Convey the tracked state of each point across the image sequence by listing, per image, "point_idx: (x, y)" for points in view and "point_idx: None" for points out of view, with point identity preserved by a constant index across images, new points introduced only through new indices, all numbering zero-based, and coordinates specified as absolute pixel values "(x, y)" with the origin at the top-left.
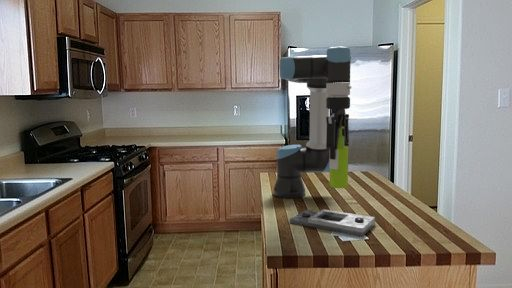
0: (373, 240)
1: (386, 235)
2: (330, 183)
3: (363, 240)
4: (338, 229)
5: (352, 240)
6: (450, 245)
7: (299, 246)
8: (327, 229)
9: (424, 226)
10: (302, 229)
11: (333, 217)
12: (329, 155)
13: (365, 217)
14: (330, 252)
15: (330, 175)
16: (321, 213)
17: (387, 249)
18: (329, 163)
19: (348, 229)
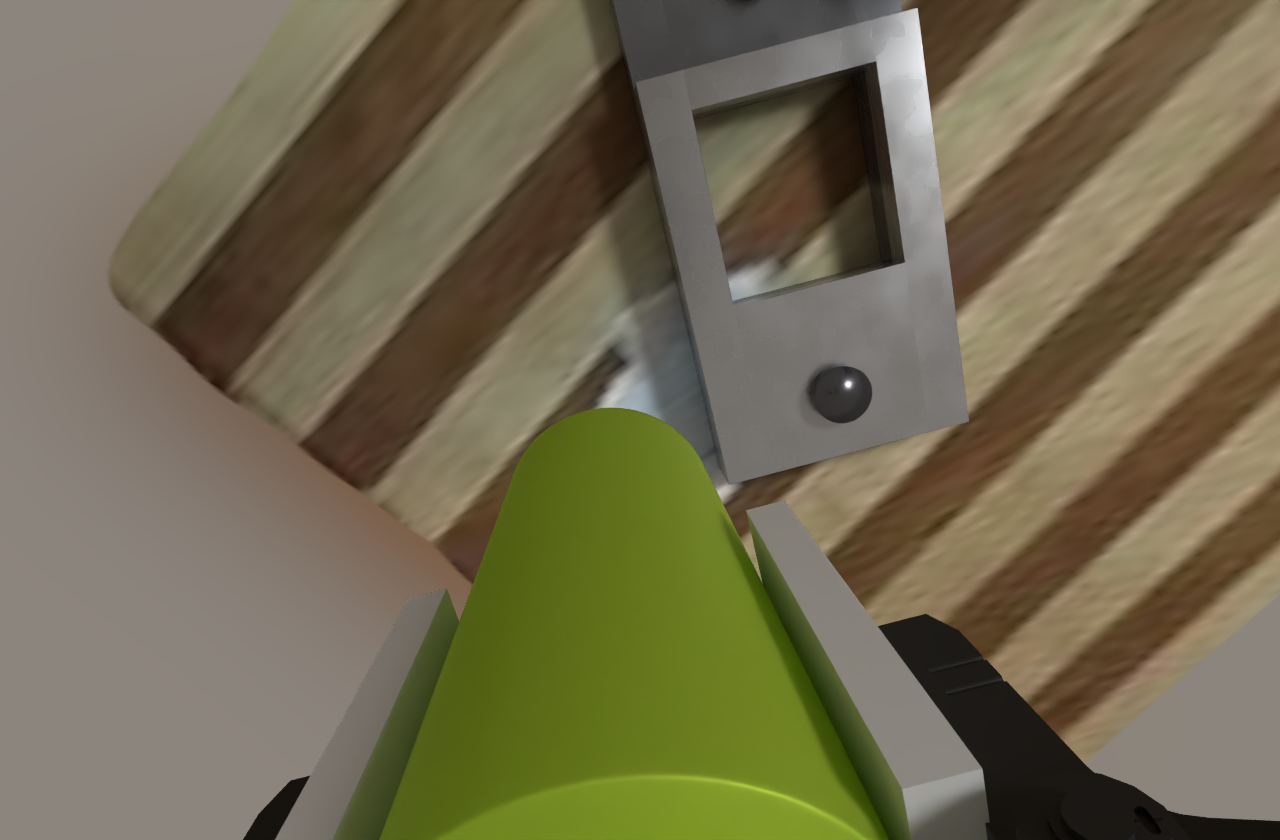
0: None
1: (820, 546)
2: (513, 475)
3: None
4: (688, 327)
5: None
6: None
7: (325, 306)
8: (668, 249)
9: (1076, 609)
10: (556, 111)
11: (871, 146)
12: (307, 782)
13: (930, 378)
14: (402, 482)
15: (501, 512)
16: (815, 75)
17: None
18: (379, 653)
19: (704, 393)
